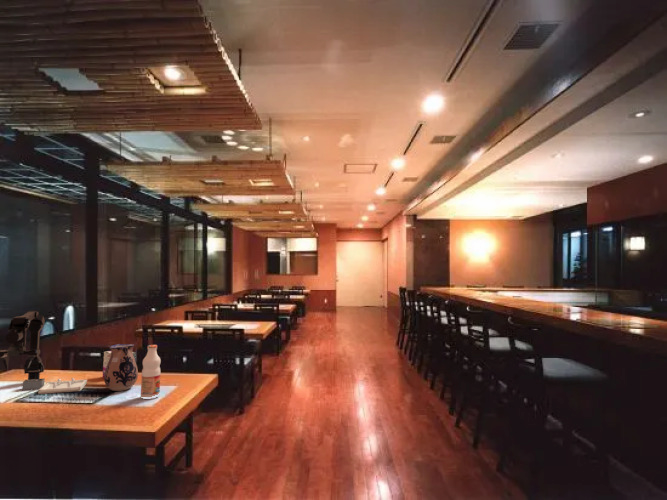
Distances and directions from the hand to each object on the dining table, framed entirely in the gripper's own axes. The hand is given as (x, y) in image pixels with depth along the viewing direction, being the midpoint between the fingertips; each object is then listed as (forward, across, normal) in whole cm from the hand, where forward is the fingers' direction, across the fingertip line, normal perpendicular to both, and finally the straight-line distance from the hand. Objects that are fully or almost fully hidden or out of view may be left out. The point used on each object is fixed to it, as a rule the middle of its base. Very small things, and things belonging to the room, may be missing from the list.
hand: (17, 369), depth 216 cm
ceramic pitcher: (+15, +50, +1) cm, 52 cm away
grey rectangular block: (+15, +4, +14) cm, 21 cm away
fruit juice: (+15, +68, -22) cm, 73 cm away
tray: (+14, +20, +10) cm, 26 cm away
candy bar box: (+15, +41, +29) cm, 53 cm away
